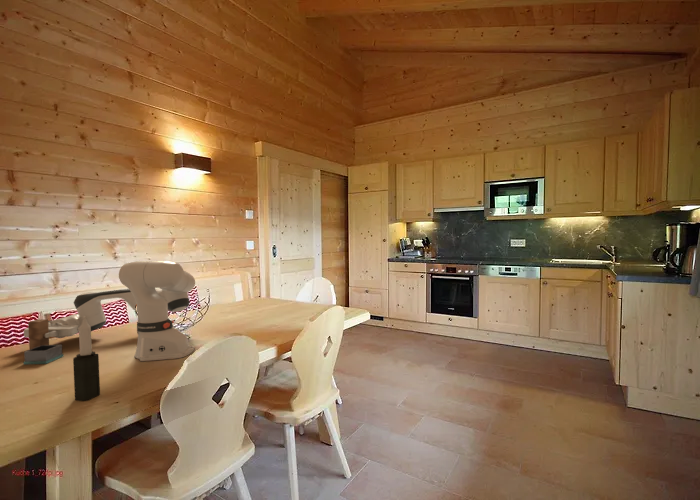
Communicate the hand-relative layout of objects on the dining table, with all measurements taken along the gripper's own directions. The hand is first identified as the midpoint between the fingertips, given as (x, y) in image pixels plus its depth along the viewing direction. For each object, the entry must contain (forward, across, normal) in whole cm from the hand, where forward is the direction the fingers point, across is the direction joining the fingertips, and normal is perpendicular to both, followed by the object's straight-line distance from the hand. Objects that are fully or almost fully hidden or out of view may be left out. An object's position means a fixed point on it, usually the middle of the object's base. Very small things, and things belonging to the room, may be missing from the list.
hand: (37, 336), depth 150 cm
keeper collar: (+8, -9, -8) cm, 14 cm away
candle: (+43, -50, -8) cm, 66 cm away
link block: (-1, 0, -8) cm, 8 cm away
